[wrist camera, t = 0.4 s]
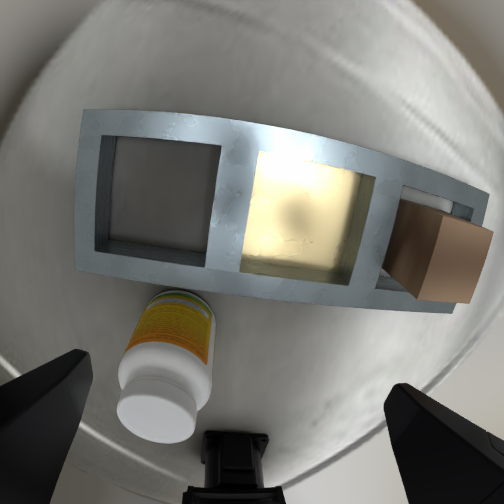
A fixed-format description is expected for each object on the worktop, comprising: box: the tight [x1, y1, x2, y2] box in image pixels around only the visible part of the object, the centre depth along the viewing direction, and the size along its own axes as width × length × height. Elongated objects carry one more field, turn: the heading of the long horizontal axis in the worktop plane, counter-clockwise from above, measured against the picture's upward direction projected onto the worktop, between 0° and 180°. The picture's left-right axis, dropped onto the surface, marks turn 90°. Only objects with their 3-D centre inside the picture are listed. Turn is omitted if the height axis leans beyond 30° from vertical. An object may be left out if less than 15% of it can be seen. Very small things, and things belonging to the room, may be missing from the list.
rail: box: [74, 110, 489, 314], centre depth 18 cm, size 10×28×2 cm, turn 80°
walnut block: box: [382, 199, 493, 304], centre depth 18 cm, size 5×5×6 cm
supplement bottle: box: [117, 290, 216, 443], centre depth 17 cm, size 5×5×10 cm
